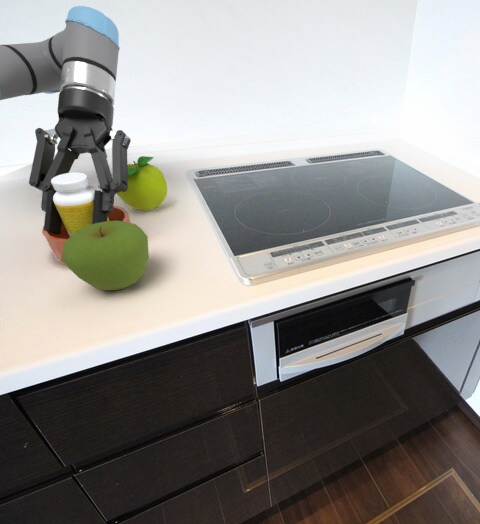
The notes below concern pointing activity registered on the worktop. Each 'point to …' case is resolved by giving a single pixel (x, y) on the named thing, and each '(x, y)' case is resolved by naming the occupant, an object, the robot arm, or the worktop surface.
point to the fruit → (144, 185)
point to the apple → (107, 254)
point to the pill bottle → (74, 200)
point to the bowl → (58, 239)
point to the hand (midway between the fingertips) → (75, 231)
